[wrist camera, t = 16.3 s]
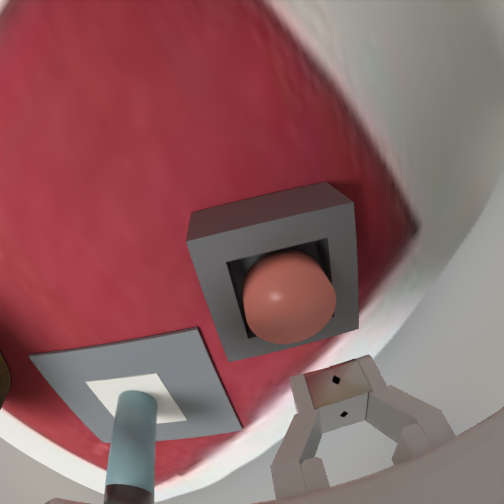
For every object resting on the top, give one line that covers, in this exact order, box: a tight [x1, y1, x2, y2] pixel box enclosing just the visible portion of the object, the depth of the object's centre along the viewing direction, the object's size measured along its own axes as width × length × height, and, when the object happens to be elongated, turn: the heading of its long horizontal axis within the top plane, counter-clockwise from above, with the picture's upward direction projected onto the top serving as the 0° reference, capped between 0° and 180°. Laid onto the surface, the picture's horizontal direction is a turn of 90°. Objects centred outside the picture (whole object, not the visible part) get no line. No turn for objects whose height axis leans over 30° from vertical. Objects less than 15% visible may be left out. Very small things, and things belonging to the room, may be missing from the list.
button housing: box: [186, 182, 359, 362], centre depth 18 cm, size 8×8×4 cm
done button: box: [242, 249, 336, 344], centre depth 16 cm, size 4×4×2 cm
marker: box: [104, 391, 158, 504], centre depth 19 cm, size 4×4×12 cm
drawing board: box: [29, 327, 243, 443], centre depth 24 cm, size 16×14×1 cm
